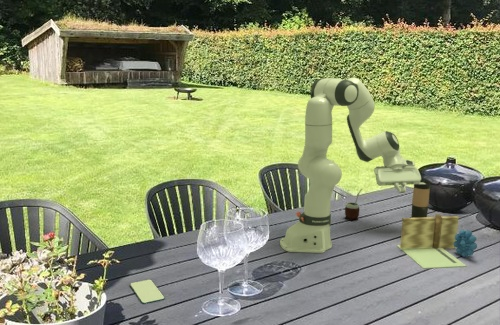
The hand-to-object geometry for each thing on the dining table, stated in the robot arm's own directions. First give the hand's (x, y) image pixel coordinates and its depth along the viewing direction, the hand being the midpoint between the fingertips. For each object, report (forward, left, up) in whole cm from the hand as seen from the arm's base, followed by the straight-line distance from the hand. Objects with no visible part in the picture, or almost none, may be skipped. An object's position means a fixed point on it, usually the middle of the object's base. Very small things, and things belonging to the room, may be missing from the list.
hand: (402, 192), depth 227 cm
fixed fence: (+14, -14, -21) cm, 29 cm away
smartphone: (-110, -41, -22) cm, 119 cm away
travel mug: (+20, +21, -21) cm, 36 cm away
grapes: (+18, -24, -21) cm, 37 cm away
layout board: (+4, -21, -21) cm, 30 cm away
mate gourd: (-12, +28, -21) cm, 37 cm away
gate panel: (+1, -14, -20) cm, 25 cm away
